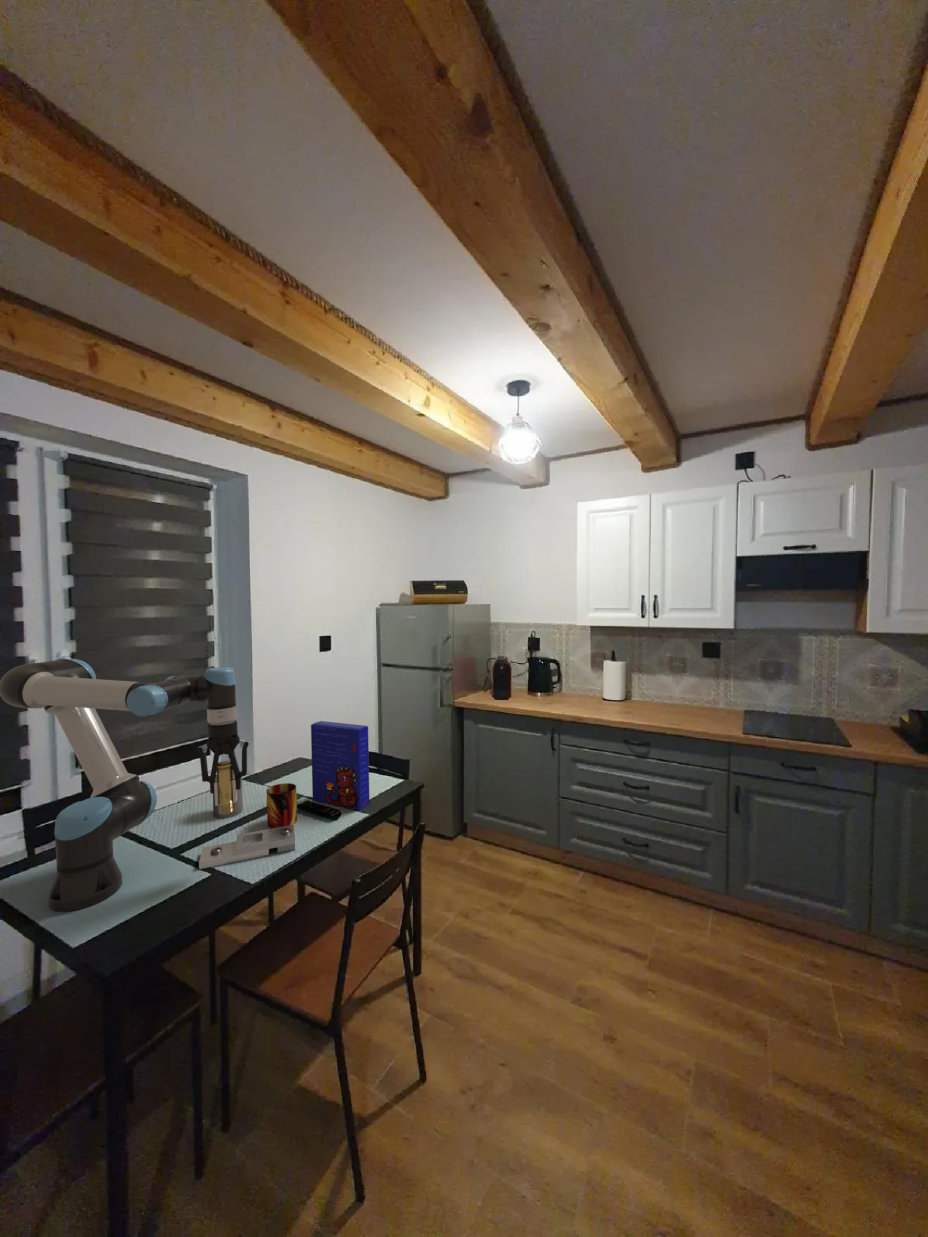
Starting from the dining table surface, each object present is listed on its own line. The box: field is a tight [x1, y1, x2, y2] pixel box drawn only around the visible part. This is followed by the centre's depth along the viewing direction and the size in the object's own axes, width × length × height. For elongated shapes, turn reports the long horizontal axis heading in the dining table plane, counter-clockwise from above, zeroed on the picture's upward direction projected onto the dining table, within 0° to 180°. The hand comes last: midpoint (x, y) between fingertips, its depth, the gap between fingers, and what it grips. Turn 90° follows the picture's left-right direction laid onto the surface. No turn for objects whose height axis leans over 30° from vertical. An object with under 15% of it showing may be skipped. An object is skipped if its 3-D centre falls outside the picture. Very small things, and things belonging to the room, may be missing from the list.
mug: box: [266, 782, 298, 829], centre depth 162 cm, size 10×14×12 cm
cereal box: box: [310, 720, 371, 811], centre depth 178 cm, size 22×6×30 cm, turn 68°
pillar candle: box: [212, 772, 244, 819], centre depth 171 cm, size 10×10×15 cm
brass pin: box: [216, 760, 234, 814], centre depth 135 cm, size 5×5×14 cm
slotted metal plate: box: [198, 825, 296, 870], centre depth 144 cm, size 26×9×5 cm, turn 113°
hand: (226, 802), depth 135 cm, fingers closed on brass pin, 4 cm apart
